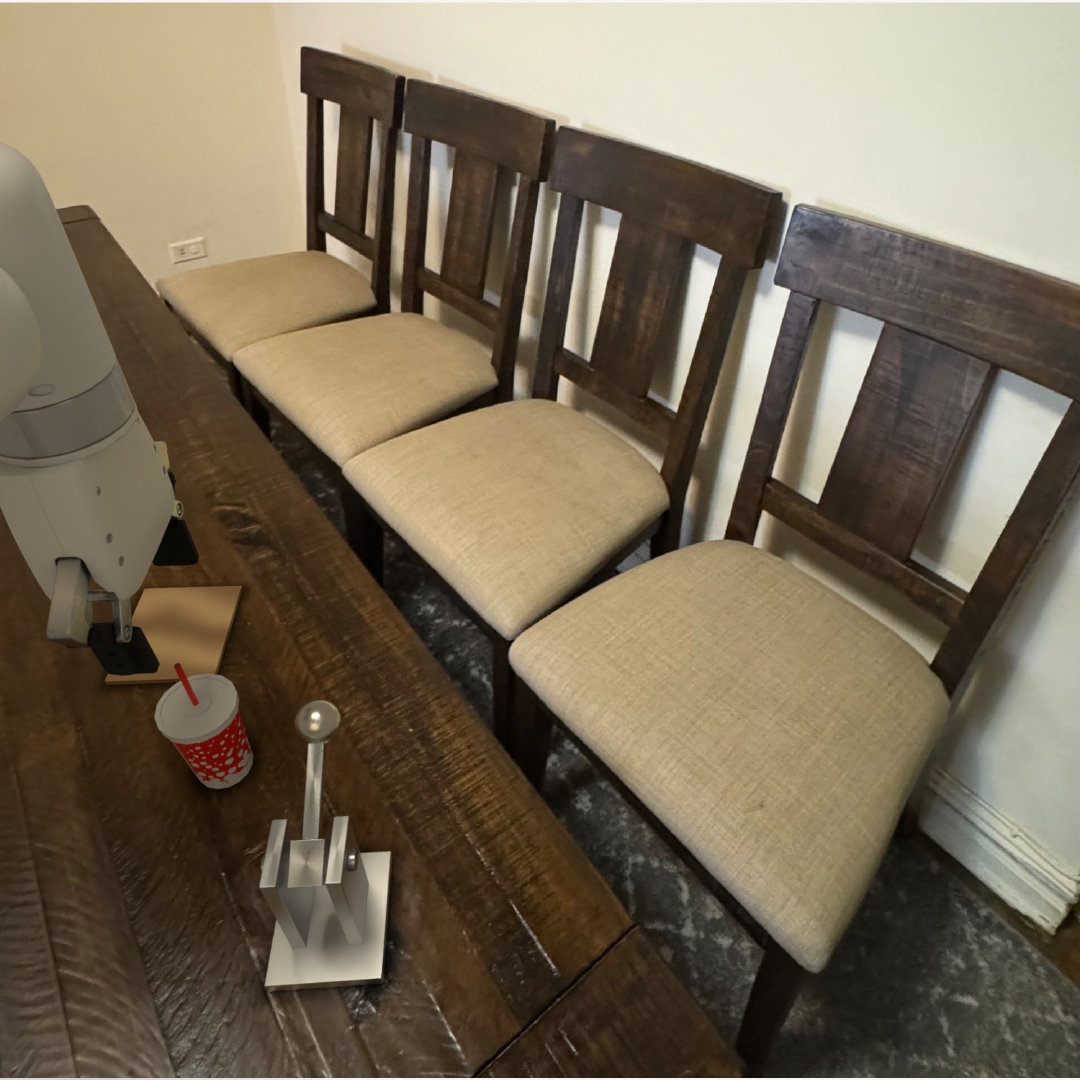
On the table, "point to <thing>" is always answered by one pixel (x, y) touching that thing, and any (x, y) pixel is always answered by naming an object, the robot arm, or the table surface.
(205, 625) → the drip mat
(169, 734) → the beverage cup
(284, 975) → the faucet base
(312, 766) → the grey lever handle
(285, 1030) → the table surface
